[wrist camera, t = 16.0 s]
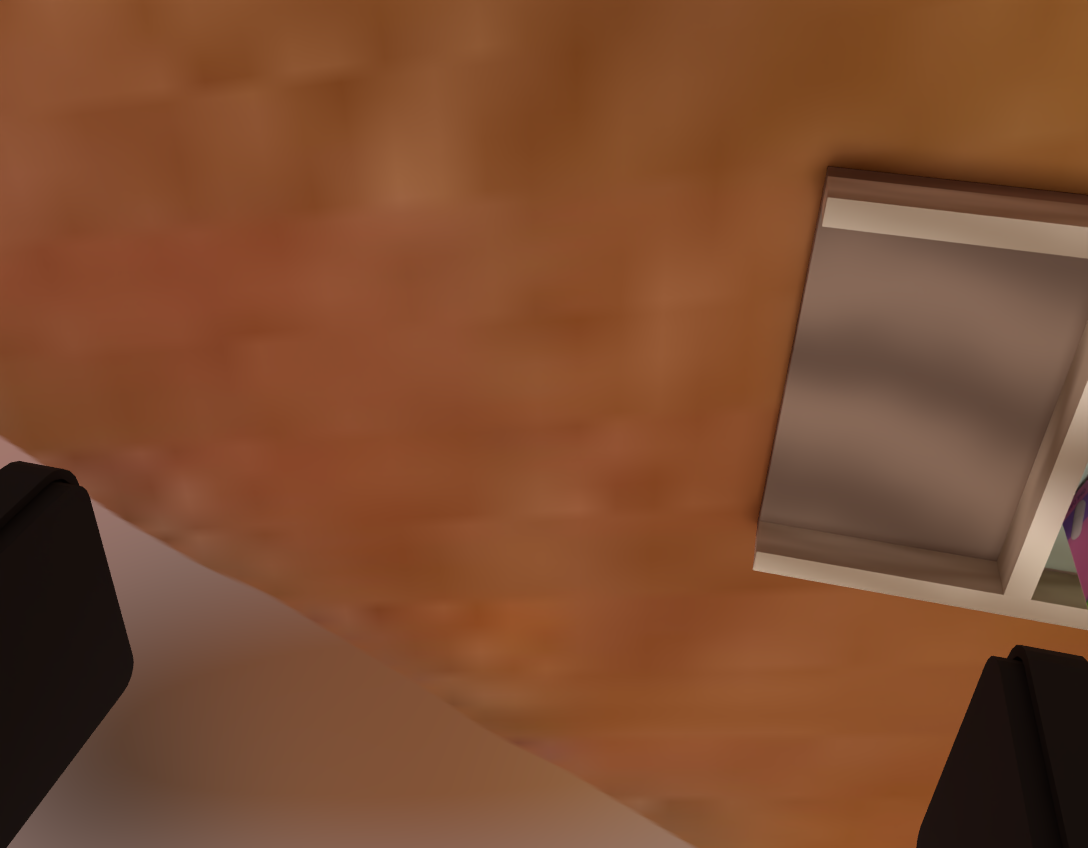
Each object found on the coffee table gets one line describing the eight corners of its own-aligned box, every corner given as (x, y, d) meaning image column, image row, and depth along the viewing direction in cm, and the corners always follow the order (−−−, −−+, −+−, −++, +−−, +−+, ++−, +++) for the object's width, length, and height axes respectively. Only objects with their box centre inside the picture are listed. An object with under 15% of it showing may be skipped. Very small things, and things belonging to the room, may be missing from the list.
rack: (827, 166, 35) (827, 197, 33) (1482, 238, 32) (1536, 279, 29) (757, 524, 44) (752, 570, 42) (1262, 611, 41) (1289, 666, 38)
